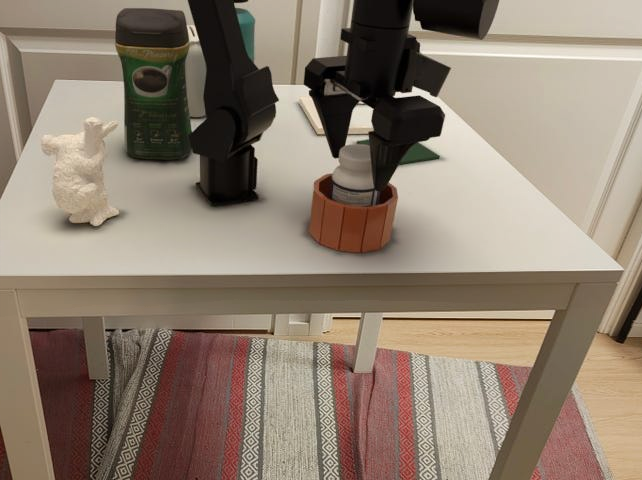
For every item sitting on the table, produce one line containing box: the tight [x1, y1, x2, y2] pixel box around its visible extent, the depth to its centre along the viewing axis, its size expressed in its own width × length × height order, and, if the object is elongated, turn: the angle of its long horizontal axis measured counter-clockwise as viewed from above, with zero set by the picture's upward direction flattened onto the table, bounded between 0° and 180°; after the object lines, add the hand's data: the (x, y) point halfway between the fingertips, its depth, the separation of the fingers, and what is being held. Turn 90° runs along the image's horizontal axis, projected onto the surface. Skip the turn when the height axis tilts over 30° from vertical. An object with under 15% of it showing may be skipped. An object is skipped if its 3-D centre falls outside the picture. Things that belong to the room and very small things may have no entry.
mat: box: [356, 139, 441, 166], centre depth 99 cm, size 9×9×1 cm
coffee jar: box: [114, 7, 193, 160], centre depth 89 cm, size 10×8×19 cm
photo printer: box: [185, 24, 206, 118], centre depth 106 cm, size 10×4×12 cm, turn 13°
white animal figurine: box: [40, 116, 120, 227], centre depth 75 cm, size 8×7×12 cm
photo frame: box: [298, 96, 400, 135], centre depth 109 cm, size 15×1×18 cm
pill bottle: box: [329, 143, 380, 207], centre depth 75 cm, size 6×6×10 cm
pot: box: [308, 172, 399, 254], centre depth 77 cm, size 10×10×6 cm
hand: (357, 173), depth 74 cm, fingers open, 9 cm apart
